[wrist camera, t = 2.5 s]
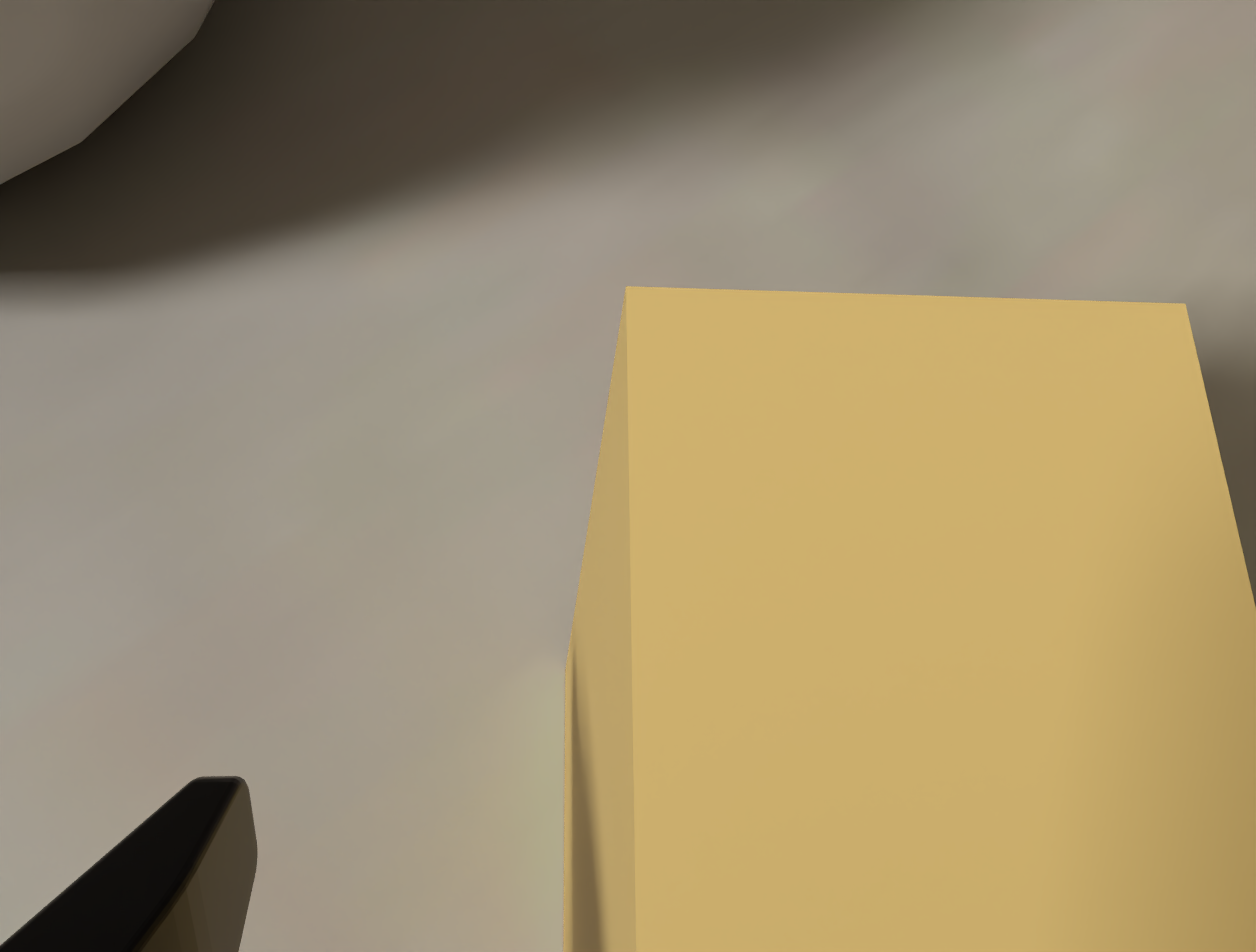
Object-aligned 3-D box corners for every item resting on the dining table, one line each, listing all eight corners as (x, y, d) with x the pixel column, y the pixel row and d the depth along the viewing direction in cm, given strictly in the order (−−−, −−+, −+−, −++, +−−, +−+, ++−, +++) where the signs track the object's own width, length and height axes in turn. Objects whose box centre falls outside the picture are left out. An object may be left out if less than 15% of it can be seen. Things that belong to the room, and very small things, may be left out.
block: (761, 1069, 15) (1556, 1911, 3) (562, 1076, 15) (654, 2009, 3) (740, 669, 17) (1185, 304, 5) (565, 669, 17) (626, 285, 5)
